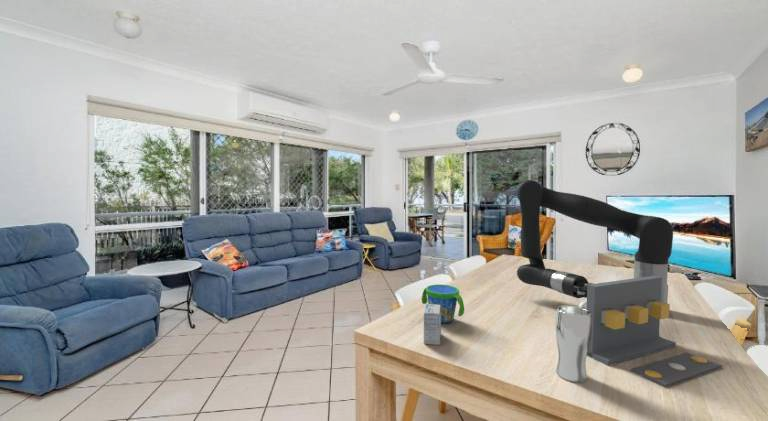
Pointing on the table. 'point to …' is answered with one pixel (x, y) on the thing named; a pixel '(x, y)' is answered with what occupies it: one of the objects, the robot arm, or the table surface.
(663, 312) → the button
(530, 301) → the table surface
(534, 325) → the table surface
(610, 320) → the button
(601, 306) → the button panel
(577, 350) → the silver metal cup
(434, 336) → the medicine box
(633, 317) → the middle button
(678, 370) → the pattern card
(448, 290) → the snack cup
